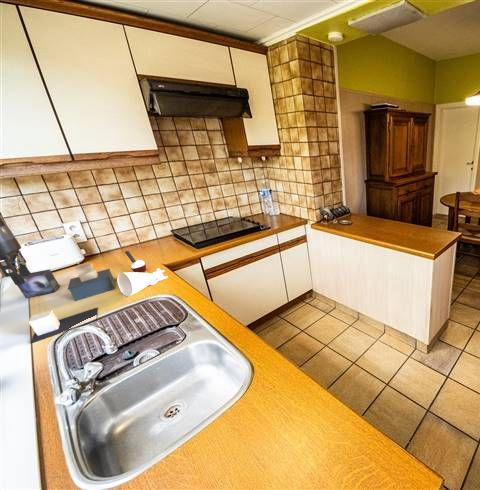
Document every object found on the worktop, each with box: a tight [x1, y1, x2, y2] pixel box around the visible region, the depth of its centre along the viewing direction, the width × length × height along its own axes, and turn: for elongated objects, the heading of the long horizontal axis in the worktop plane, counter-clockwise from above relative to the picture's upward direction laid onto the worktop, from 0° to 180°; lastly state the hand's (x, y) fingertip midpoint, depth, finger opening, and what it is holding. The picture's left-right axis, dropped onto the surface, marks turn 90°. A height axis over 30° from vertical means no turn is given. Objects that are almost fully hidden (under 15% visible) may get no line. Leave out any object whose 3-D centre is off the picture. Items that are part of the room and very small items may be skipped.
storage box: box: [67, 268, 116, 302], centre depth 130 cm, size 14×12×7 cm
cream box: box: [74, 262, 98, 282], centre depth 128 cm, size 6×5×6 cm
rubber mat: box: [30, 307, 99, 344], centre depth 107 cm, size 18×12×1 cm, turn 132°
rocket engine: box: [116, 268, 169, 297], centre depth 132 cm, size 12×12×18 cm
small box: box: [16, 268, 61, 299], centre depth 130 cm, size 11×6×10 cm, turn 118°
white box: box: [28, 309, 60, 336], centre depth 103 cm, size 6×5×6 cm
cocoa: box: [124, 250, 147, 273], centre depth 146 cm, size 10×6×12 cm, turn 44°
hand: (23, 279), depth 98 cm, fingers open, 8 cm apart
